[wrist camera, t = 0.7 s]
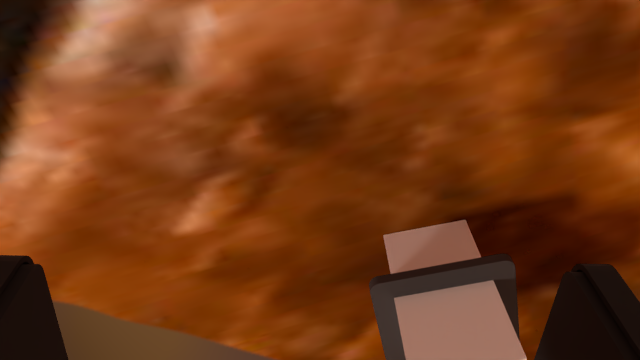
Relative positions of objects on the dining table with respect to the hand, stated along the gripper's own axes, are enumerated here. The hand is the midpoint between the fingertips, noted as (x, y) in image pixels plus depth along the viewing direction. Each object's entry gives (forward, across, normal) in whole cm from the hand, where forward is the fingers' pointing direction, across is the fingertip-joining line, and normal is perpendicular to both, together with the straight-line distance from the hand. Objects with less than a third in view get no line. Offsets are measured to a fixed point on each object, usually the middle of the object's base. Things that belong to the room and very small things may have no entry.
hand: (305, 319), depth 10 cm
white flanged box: (+34, -12, +26) cm, 45 cm away
